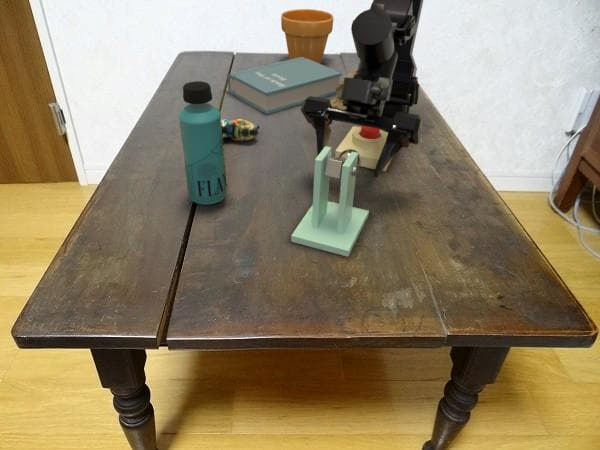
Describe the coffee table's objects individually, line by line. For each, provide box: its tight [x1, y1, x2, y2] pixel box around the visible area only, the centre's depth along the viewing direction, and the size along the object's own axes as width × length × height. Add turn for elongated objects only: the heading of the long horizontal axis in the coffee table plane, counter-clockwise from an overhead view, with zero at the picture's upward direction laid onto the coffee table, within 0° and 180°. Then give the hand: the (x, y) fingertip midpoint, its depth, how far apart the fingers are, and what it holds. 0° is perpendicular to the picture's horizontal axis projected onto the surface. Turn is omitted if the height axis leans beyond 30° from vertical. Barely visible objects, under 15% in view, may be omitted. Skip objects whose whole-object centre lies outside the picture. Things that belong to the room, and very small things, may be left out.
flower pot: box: [280, 8, 334, 65], centre depth 135 cm, size 14×14×13 cm
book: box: [227, 57, 343, 115], centre depth 119 cm, size 23×16×5 cm
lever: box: [325, 149, 361, 179], centre depth 73 cm, size 11×4×4 cm, turn 158°
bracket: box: [290, 145, 370, 258], centre depth 71 cm, size 11×9×13 cm
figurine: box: [221, 118, 260, 142], centre depth 99 cm, size 10×4×15 cm
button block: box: [334, 125, 393, 172], centre depth 95 cm, size 12×10×4 cm
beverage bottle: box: [177, 80, 228, 206], centre depth 74 cm, size 6×7×20 cm
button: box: [360, 126, 380, 139], centre depth 93 cm, size 4×4×2 cm
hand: (346, 170), depth 76 cm, fingers open, 9 cm apart
